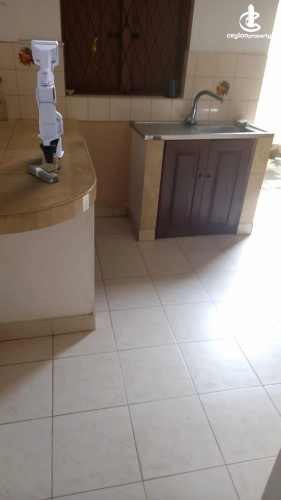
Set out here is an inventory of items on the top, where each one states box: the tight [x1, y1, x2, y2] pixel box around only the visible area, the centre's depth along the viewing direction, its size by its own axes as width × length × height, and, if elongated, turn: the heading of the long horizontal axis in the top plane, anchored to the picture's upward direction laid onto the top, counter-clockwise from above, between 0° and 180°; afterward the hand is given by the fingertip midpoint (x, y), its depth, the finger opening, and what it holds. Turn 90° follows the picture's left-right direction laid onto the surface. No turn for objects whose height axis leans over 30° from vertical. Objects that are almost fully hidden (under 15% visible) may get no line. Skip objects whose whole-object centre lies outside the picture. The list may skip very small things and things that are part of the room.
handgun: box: [27, 162, 61, 184], centre depth 135 cm, size 2×18×12 cm
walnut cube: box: [41, 153, 59, 171], centre depth 133 cm, size 5×5×5 cm
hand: (51, 160), depth 133 cm, fingers open, 7 cm apart
